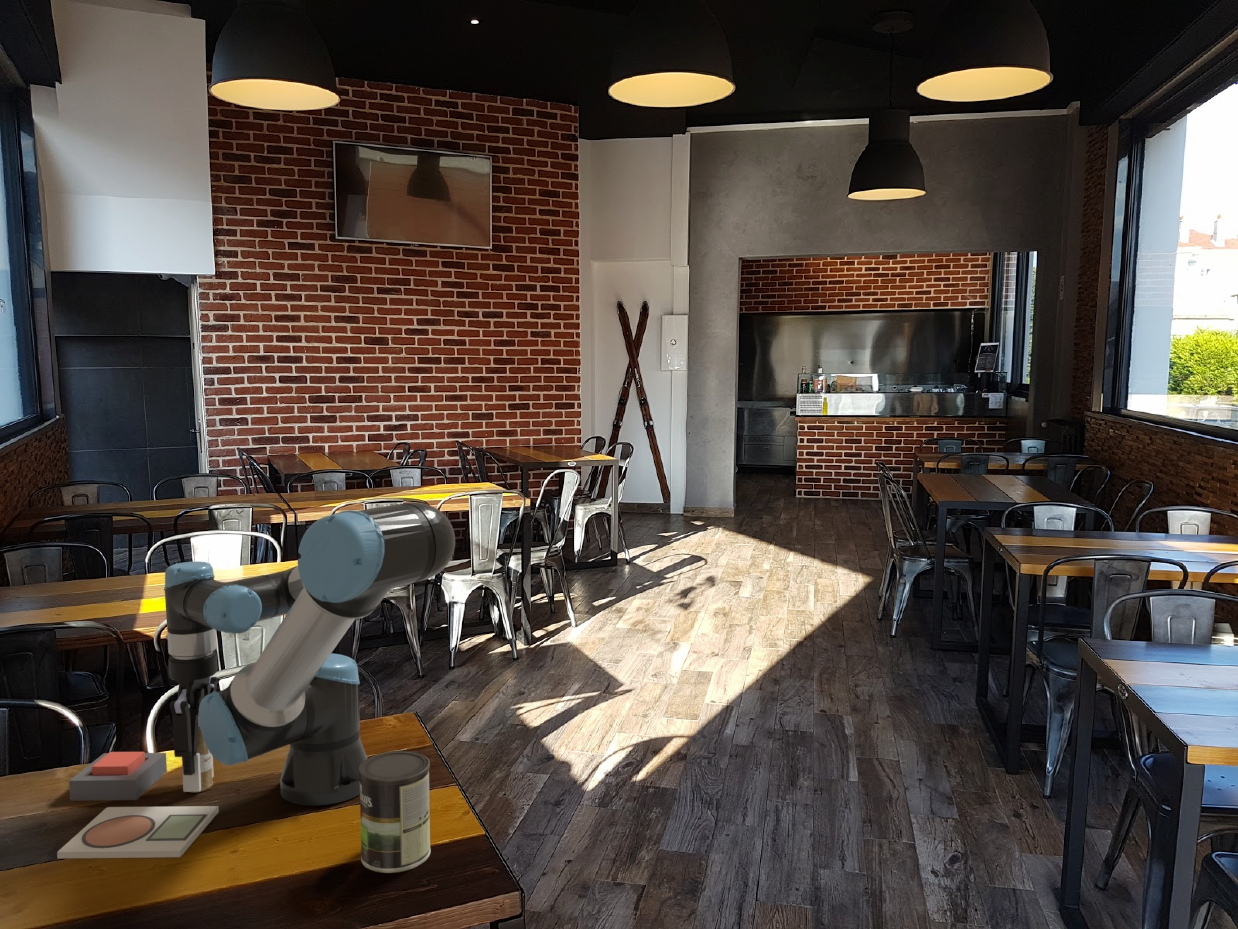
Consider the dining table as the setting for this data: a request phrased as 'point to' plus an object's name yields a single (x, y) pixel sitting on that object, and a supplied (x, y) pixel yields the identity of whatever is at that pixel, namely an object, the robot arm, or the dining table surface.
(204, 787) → the spice jar
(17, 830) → the dining table surface
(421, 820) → the coffee can
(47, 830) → the dining table surface
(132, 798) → the button housing
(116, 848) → the picture board
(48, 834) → the dining table surface
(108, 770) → the button
